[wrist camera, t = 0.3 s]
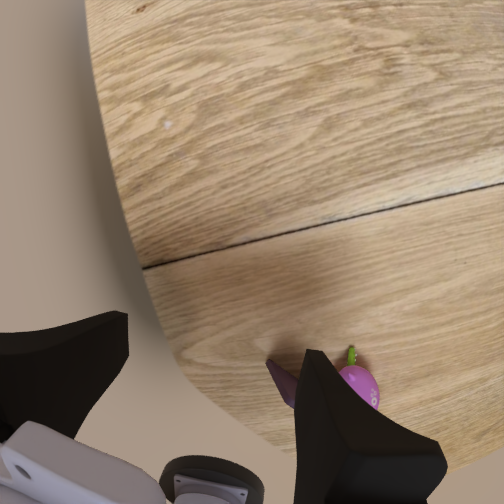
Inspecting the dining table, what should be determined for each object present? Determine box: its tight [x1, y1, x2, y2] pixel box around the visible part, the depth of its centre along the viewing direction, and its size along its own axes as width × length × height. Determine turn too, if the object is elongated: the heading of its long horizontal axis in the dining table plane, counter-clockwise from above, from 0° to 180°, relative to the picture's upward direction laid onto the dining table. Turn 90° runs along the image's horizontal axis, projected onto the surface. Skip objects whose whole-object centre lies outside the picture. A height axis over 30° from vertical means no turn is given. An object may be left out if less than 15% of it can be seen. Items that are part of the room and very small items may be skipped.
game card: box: [265, 347, 379, 410], centre depth 18 cm, size 7×5×9 cm
